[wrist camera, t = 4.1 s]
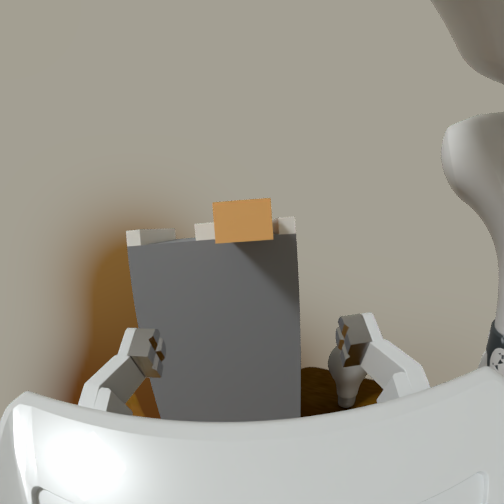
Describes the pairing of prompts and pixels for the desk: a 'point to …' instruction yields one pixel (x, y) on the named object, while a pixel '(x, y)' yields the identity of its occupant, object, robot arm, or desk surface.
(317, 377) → the desk surface
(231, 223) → the orange flat bar
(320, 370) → the desk surface
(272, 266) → the block
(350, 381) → the lightbulb
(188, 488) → the robot arm
